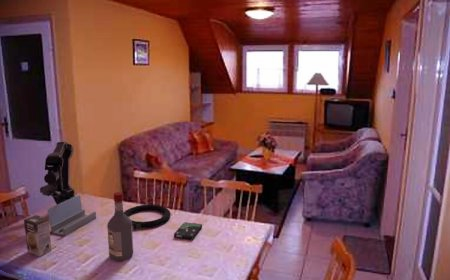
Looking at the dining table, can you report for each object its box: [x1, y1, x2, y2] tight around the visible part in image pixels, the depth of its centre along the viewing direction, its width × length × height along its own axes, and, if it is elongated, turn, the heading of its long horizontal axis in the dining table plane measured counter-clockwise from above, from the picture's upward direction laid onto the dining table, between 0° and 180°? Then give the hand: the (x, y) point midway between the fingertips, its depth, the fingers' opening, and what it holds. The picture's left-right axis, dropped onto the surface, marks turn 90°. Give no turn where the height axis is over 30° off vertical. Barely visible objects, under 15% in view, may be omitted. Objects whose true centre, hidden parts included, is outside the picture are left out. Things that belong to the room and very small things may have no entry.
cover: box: [47, 194, 83, 227], centre depth 189 cm, size 9×22×1 cm
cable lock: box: [124, 204, 171, 232], centre depth 197 cm, size 28×4×30 cm
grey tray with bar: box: [50, 209, 97, 237], centre depth 188 cm, size 9×23×4 cm, turn 160°
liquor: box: [106, 191, 134, 263], centre depth 156 cm, size 9×9×30 cm
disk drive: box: [173, 221, 203, 241], centre depth 182 cm, size 10×3×15 cm
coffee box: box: [23, 214, 52, 257], centre depth 161 cm, size 9×6×16 cm
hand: (58, 205), depth 190 cm, fingers closed
